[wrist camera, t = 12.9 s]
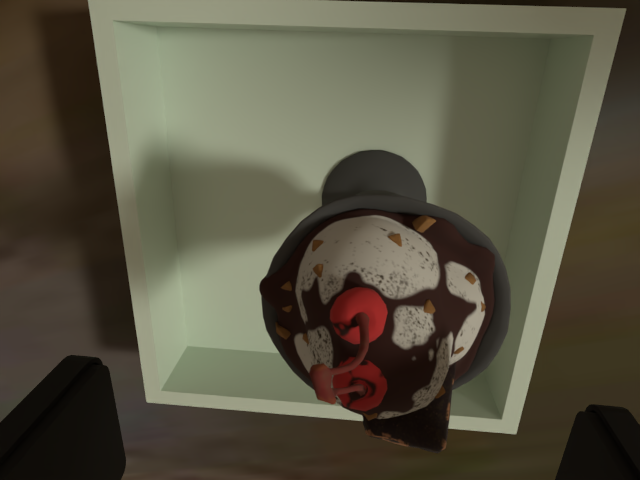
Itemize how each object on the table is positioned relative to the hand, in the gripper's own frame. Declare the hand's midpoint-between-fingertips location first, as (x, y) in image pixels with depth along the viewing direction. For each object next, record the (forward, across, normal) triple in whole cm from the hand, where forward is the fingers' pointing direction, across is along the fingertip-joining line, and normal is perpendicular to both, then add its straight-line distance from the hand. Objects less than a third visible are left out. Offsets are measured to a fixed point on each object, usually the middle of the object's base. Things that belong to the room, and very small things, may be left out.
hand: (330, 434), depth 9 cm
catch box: (+14, +1, 0) cm, 15 cm away
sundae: (+14, -1, -1) cm, 14 cm away
